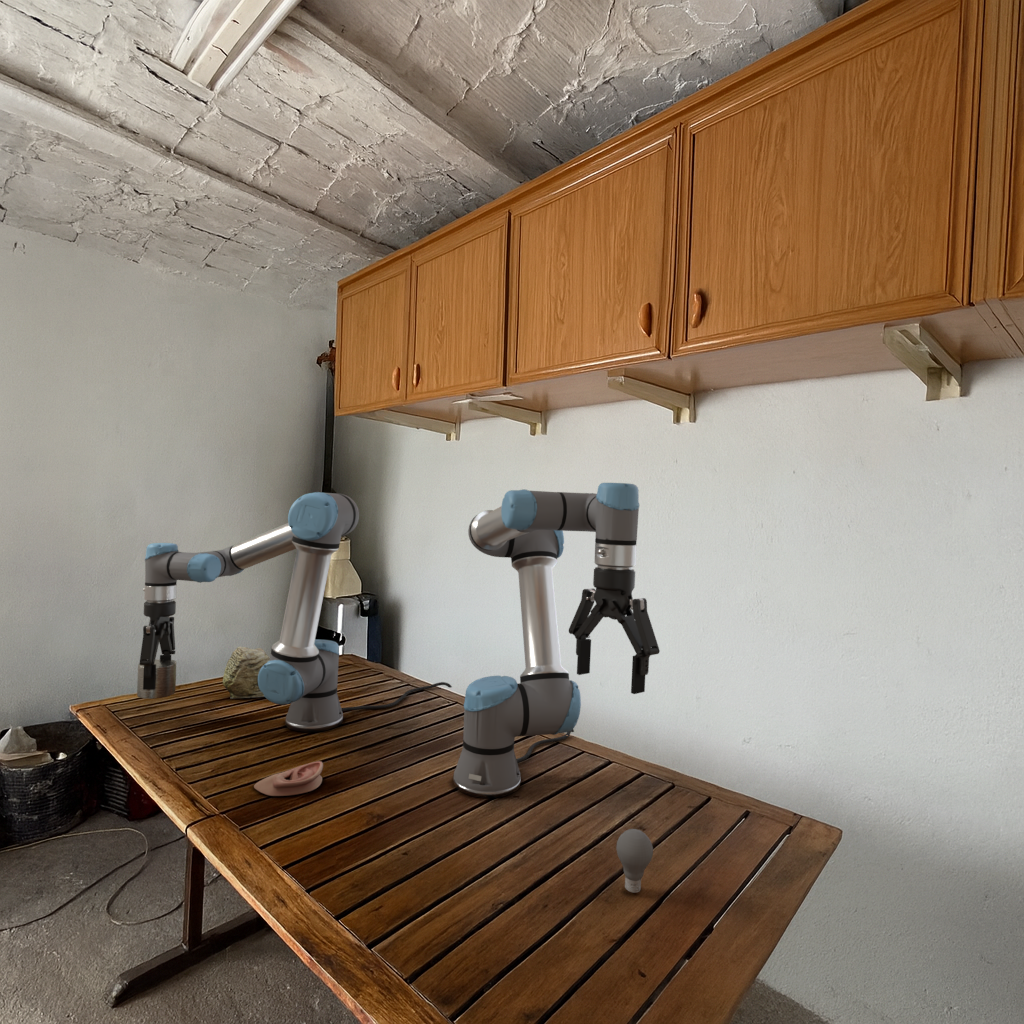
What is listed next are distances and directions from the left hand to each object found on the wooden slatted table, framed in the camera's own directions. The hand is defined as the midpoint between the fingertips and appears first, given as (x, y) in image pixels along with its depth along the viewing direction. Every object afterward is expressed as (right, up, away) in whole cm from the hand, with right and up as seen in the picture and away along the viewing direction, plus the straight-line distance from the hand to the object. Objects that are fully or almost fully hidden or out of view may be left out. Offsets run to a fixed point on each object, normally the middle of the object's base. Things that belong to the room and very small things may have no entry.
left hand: (157, 683), depth 171 cm
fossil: (+15, -11, +27) cm, 33 cm away
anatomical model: (+47, -13, -32) cm, 59 cm away
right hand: (+114, +15, -54) cm, 127 cm away
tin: (0, -3, 0) cm, 3 cm away
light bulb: (+116, -17, -65) cm, 134 cm away
